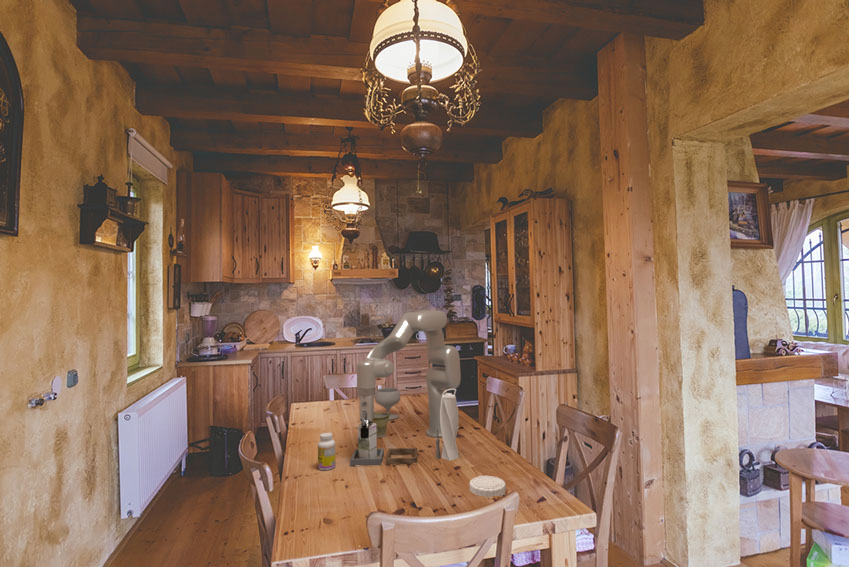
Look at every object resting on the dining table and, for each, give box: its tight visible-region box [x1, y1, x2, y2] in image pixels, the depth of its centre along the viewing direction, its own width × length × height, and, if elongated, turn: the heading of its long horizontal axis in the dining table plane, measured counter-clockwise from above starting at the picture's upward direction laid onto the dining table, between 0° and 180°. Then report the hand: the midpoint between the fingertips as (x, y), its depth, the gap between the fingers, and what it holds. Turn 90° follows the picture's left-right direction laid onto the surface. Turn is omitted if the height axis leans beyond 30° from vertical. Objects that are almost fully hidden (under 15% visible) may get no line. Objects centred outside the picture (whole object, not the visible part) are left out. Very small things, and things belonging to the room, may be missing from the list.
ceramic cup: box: [372, 411, 390, 439], centre depth 211 cm, size 13×10×10 cm
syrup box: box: [357, 423, 378, 459], centre depth 178 cm, size 6×6×14 cm
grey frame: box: [349, 448, 385, 467], centre depth 178 cm, size 12×12×2 cm
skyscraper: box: [435, 388, 460, 461], centre depth 177 cm, size 8×8×28 cm
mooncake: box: [468, 474, 507, 498], centre depth 147 cm, size 12×12×4 cm
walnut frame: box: [385, 447, 418, 466], centre depth 178 cm, size 12×12×2 cm
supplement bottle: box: [317, 432, 336, 471], centre depth 171 cm, size 7×7×13 cm
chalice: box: [374, 387, 401, 421], centre depth 242 cm, size 14×14×15 cm
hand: (366, 434), depth 178 cm, fingers open, 9 cm apart
